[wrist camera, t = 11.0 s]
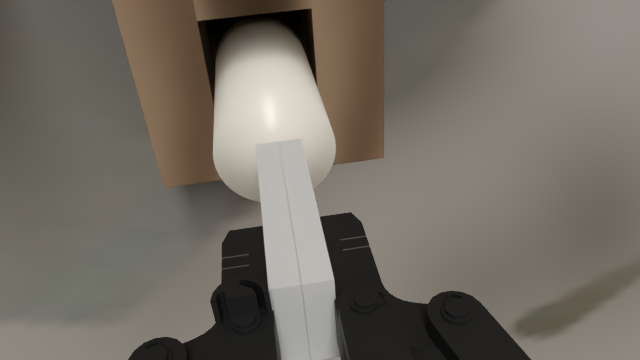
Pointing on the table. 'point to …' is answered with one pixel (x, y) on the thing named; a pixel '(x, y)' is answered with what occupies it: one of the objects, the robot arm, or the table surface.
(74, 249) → the table surface
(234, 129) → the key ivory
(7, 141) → the table surface
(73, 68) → the table surface
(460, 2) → the table surface
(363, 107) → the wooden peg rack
